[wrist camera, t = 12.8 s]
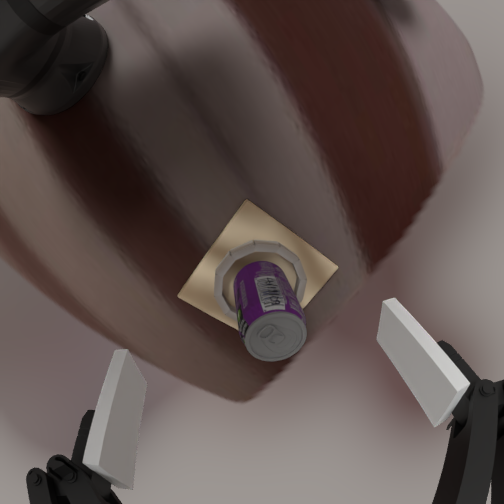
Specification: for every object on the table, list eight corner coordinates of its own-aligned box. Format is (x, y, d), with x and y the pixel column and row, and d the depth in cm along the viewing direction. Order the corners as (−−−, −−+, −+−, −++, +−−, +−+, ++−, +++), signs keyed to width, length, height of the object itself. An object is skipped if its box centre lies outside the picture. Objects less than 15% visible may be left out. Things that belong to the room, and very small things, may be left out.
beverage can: (222, 287, 37) (225, 345, 26) (257, 247, 35) (275, 295, 24) (261, 313, 39) (277, 373, 28) (295, 278, 38) (325, 330, 27)
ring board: (268, 342, 42) (270, 351, 40) (178, 293, 38) (176, 302, 35) (336, 265, 39) (342, 271, 37) (246, 198, 34) (248, 202, 32)
